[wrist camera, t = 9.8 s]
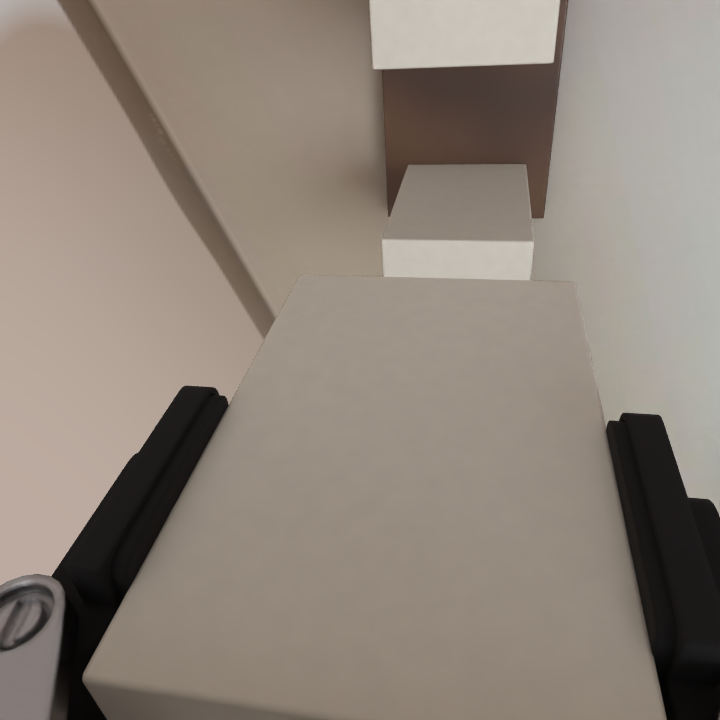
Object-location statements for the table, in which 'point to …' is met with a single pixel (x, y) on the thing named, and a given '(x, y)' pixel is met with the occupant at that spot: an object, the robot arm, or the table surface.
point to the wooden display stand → (466, 131)
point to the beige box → (395, 525)
